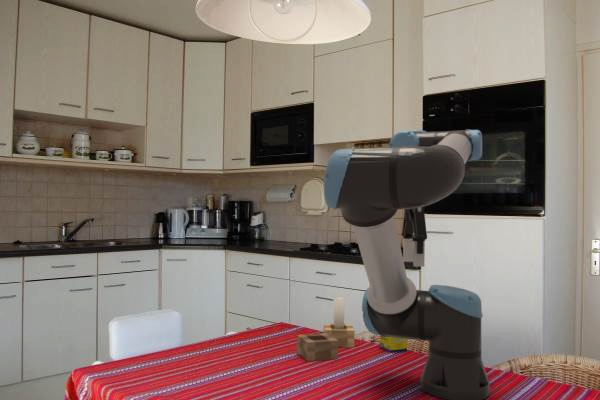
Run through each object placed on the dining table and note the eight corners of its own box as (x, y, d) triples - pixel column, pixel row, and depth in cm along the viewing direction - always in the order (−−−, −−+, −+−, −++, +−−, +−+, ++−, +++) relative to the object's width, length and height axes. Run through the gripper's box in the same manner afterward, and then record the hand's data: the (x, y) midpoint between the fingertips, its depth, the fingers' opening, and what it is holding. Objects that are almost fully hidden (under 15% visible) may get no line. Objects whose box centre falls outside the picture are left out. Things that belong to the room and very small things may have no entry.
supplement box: (379, 348, 152) (379, 311, 152) (395, 346, 154) (396, 310, 155) (390, 353, 146) (391, 315, 147) (407, 351, 149) (408, 313, 149)
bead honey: (354, 347, 152) (354, 330, 152) (324, 346, 152) (324, 330, 152) (351, 339, 161) (351, 324, 161) (323, 339, 161) (323, 323, 161)
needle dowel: (344, 344, 155) (344, 299, 155) (333, 344, 155) (334, 298, 155) (343, 342, 158) (344, 297, 158) (333, 341, 158) (333, 297, 158)
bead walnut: (338, 358, 140) (338, 340, 140) (307, 361, 137) (308, 342, 137) (325, 350, 148) (325, 333, 148) (296, 352, 145) (297, 335, 145)
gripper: (439, 184, 127) (439, 268, 127) (417, 189, 152) (416, 259, 152) (410, 184, 127) (409, 268, 127) (392, 188, 152) (391, 259, 152)
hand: (413, 263), depth 139 cm, fingers open, 13 cm apart
